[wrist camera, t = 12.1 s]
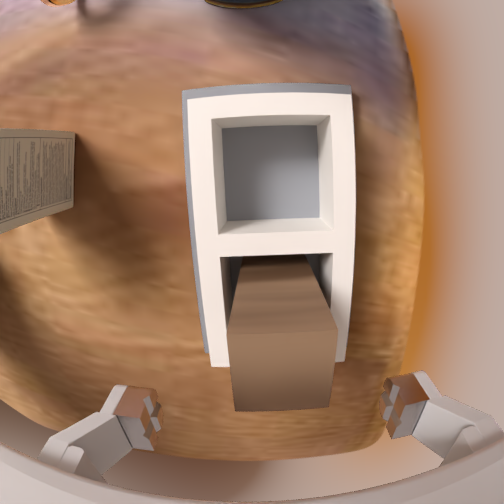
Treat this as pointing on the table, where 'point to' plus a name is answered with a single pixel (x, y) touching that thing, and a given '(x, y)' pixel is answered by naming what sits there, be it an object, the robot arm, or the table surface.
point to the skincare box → (34, 175)
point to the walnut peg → (280, 336)
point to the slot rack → (269, 192)
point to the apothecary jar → (242, 3)
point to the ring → (57, 2)
